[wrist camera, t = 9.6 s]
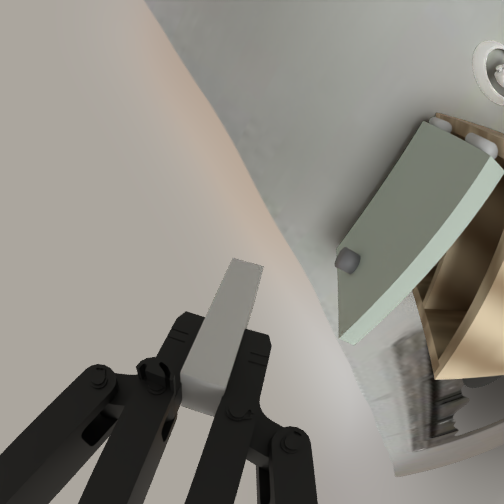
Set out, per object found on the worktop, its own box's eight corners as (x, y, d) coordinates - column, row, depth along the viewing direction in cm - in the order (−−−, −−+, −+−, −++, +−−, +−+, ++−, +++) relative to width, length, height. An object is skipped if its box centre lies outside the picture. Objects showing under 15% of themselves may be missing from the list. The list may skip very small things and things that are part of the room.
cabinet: (436, 112, 23) (535, 156, 9) (522, 141, 21) (617, 202, 7) (403, 265, 34) (434, 379, 20) (482, 274, 31) (528, 371, 17)
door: (416, 103, 22) (483, 125, 11) (440, 121, 22) (513, 158, 12) (325, 243, 33) (322, 331, 22) (347, 255, 33) (354, 345, 22)
